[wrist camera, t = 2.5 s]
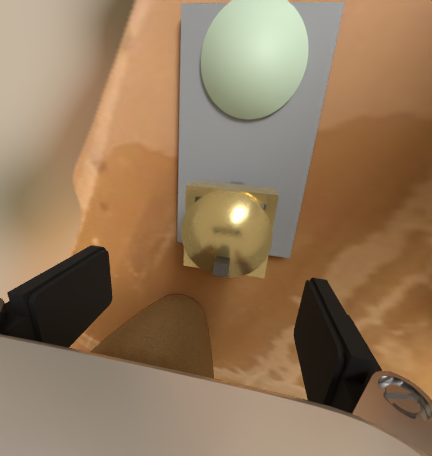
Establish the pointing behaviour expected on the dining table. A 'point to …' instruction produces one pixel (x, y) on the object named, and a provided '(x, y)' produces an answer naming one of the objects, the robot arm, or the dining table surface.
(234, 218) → the gold domed block
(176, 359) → the plant pot
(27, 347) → the robot arm
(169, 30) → the dining table surface
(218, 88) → the board
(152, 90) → the dining table surface
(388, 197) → the dining table surface
